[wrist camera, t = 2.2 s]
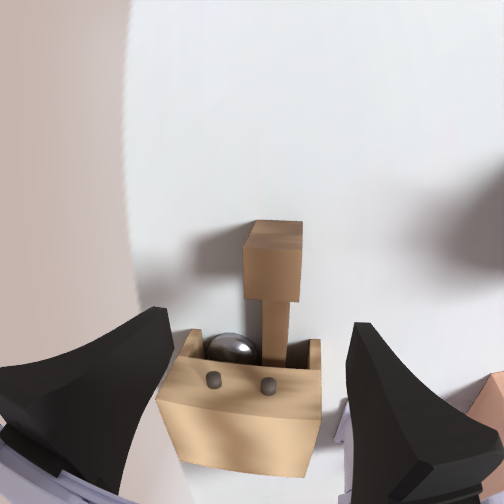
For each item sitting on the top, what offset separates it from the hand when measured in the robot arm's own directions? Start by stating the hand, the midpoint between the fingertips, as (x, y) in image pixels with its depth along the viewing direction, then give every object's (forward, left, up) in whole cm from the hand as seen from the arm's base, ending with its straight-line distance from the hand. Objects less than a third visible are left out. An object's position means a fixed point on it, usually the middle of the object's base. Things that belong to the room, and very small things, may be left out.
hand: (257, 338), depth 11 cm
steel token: (+4, +10, -10) cm, 15 cm away
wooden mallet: (+2, +6, -10) cm, 12 cm away
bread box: (+2, +13, -10) cm, 16 cm away
